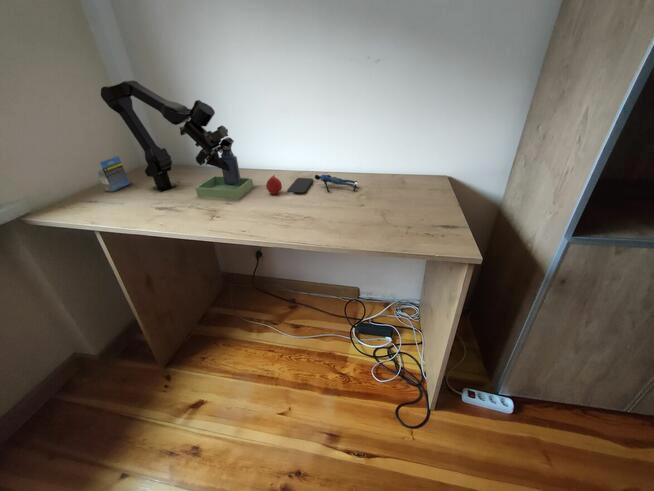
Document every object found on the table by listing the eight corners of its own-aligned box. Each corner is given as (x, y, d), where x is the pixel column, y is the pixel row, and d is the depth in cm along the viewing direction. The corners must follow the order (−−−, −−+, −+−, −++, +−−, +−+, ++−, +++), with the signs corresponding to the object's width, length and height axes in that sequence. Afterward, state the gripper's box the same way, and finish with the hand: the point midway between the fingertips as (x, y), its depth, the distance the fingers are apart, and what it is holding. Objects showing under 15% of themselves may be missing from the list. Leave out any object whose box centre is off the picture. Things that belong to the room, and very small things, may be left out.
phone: (286, 191, 116) (297, 177, 128) (286, 193, 117) (297, 179, 129) (304, 192, 115) (313, 178, 127) (304, 194, 115) (314, 180, 127)
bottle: (221, 182, 115) (214, 148, 107) (234, 178, 119) (227, 145, 112) (231, 186, 112) (224, 151, 104) (244, 181, 116) (238, 147, 109)
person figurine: (358, 188, 124) (317, 179, 126) (360, 177, 121) (318, 169, 124) (354, 198, 115) (310, 188, 117) (356, 187, 112) (311, 178, 115)
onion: (279, 198, 113) (277, 178, 108) (265, 197, 114) (262, 177, 109) (284, 192, 117) (282, 173, 113) (270, 191, 118) (268, 172, 114)
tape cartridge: (123, 183, 130) (111, 155, 123) (130, 184, 129) (119, 155, 122) (105, 191, 122) (92, 161, 116) (113, 192, 122) (99, 162, 115)
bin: (197, 197, 115) (195, 187, 113) (216, 185, 126) (214, 175, 123) (238, 201, 111) (236, 190, 109) (253, 188, 122) (251, 178, 120)
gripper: (194, 124, 96) (231, 160, 100) (224, 114, 111) (255, 146, 115) (180, 148, 102) (216, 181, 106) (210, 135, 117) (240, 164, 121)
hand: (233, 167), depth 112 cm, fingers closed on bottle, 6 cm apart
